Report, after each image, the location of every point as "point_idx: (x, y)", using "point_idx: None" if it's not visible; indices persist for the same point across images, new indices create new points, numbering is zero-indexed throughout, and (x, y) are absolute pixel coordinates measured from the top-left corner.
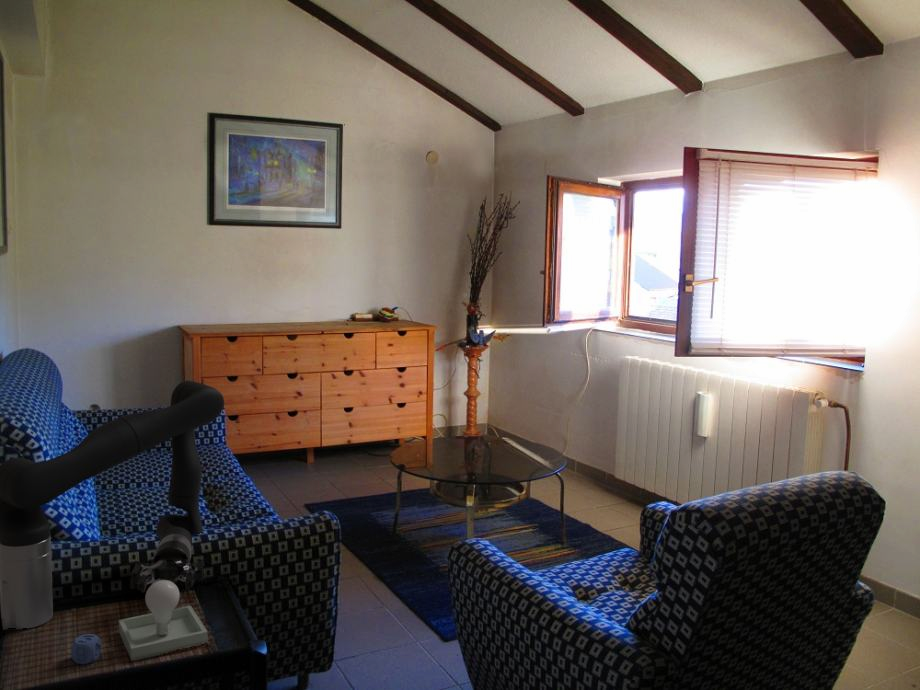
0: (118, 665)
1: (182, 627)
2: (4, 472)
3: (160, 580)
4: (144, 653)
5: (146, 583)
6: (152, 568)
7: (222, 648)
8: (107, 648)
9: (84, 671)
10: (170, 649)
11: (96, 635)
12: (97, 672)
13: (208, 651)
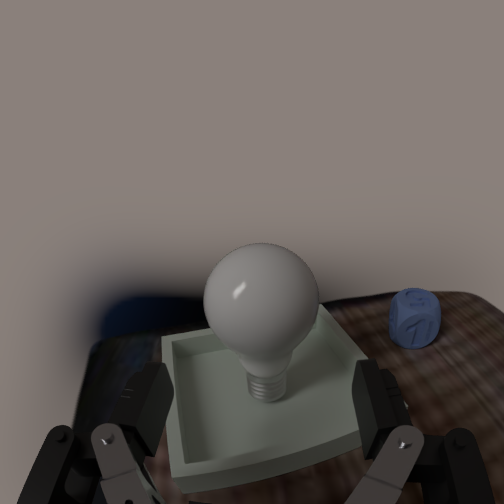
0: (340, 319)
1: (214, 418)
2: None
3: (265, 256)
4: None
5: (366, 445)
6: (363, 480)
7: (147, 341)
8: (389, 364)
9: None
10: None
11: (407, 310)
12: (367, 306)
13: None
